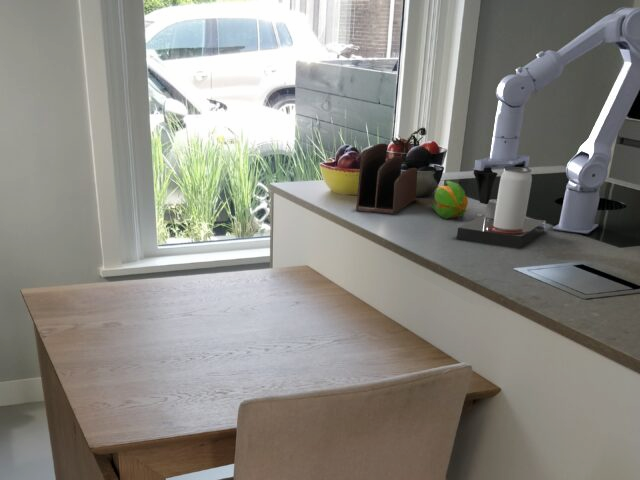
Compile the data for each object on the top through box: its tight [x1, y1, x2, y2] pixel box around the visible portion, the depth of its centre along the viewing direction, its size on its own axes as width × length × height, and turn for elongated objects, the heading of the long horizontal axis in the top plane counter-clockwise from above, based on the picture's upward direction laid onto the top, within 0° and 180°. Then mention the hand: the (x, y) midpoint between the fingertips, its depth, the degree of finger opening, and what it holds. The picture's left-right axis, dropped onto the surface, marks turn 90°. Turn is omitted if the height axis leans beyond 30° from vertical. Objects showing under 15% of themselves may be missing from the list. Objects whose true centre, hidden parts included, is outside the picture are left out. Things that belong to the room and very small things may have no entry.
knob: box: [484, 198, 497, 219], centre depth 189 cm, size 4×4×4 cm
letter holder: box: [355, 143, 418, 215], centre depth 208 cm, size 10×20×14 cm, turn 155°
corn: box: [430, 180, 469, 220], centre depth 203 cm, size 7×8×20 cm
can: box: [493, 167, 533, 231], centre depth 177 cm, size 6×6×12 cm
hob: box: [456, 213, 547, 249], centre depth 186 cm, size 19×15×3 cm
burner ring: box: [487, 224, 529, 234], centre depth 181 cm, size 9×9×1 cm
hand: (496, 201), depth 189 cm, fingers open, 7 cm apart
